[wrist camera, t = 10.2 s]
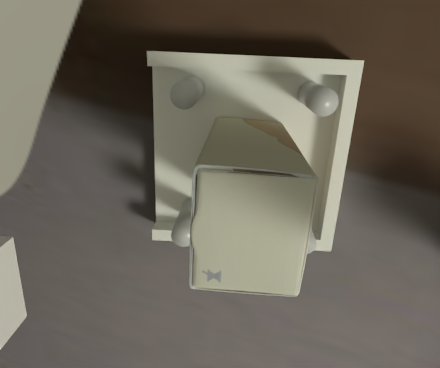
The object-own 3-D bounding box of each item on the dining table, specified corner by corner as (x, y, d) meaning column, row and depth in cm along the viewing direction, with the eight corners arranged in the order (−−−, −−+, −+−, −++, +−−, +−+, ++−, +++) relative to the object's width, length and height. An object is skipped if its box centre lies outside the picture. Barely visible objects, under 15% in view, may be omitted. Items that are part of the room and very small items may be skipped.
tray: (159, 225, 26) (141, 262, 21) (155, 51, 22) (132, 50, 17) (323, 235, 26) (342, 276, 21) (352, 59, 21) (383, 62, 17)
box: (273, 195, 24) (298, 307, 13) (209, 190, 24) (185, 296, 14) (283, 117, 22) (322, 175, 12) (214, 111, 22) (191, 165, 12)
